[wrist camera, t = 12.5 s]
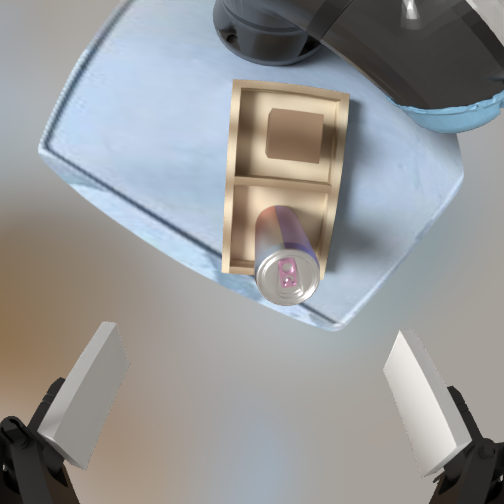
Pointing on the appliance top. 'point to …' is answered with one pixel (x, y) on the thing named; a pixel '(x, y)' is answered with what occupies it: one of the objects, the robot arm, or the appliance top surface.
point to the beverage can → (284, 258)
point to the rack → (280, 169)
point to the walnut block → (294, 135)
